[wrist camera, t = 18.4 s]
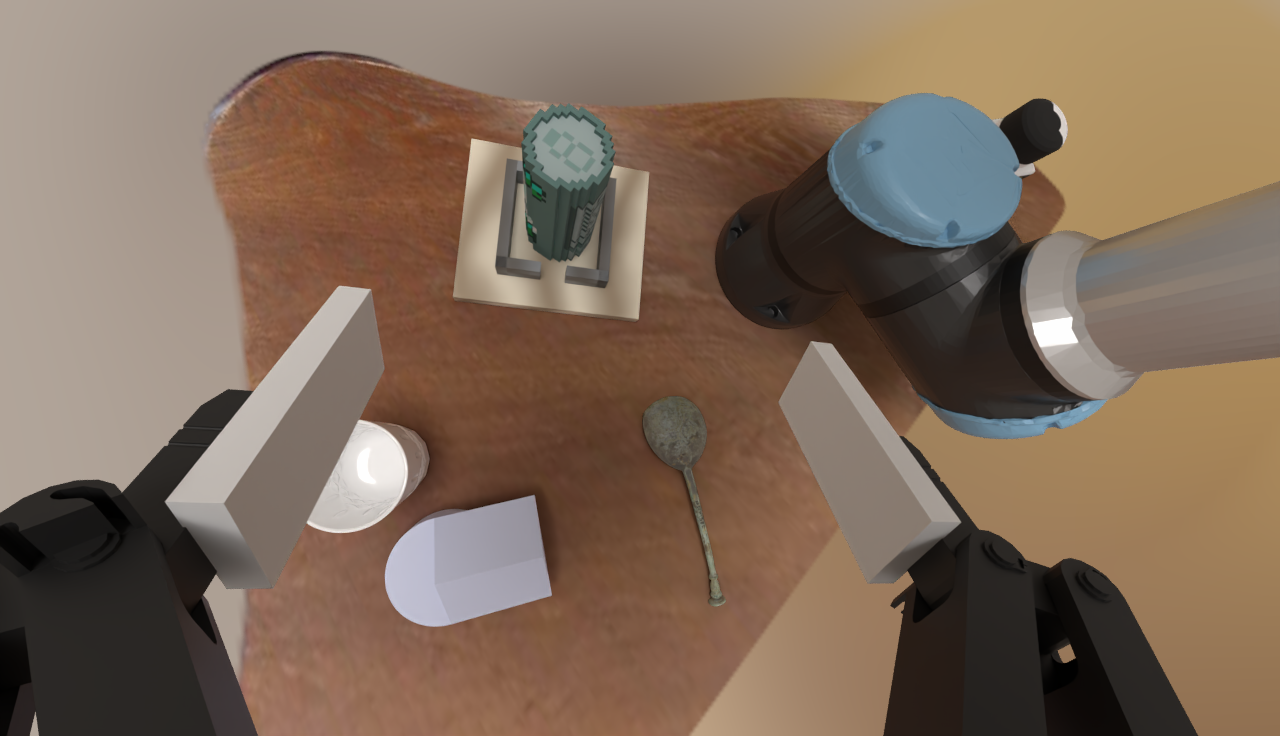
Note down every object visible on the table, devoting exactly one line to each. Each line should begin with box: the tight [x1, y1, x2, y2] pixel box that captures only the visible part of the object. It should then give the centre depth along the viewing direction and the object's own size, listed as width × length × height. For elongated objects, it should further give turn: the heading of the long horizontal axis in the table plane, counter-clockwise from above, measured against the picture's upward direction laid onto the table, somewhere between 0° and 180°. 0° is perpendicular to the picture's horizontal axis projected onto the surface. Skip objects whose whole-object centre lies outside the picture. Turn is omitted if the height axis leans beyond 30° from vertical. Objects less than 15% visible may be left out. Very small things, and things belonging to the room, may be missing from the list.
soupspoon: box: [643, 396, 726, 606], centre depth 47 cm, size 22×3×7 cm
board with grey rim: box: [453, 139, 649, 322], centre depth 45 cm, size 18×16×4 cm
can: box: [522, 103, 616, 263], centre depth 39 cm, size 6×6×15 cm
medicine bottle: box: [992, 99, 1068, 179], centre depth 54 cm, size 7×7×12 cm
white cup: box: [307, 420, 430, 533], centre depth 37 cm, size 8×8×10 cm
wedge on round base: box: [385, 495, 552, 627], centre depth 40 cm, size 9×7×13 cm
